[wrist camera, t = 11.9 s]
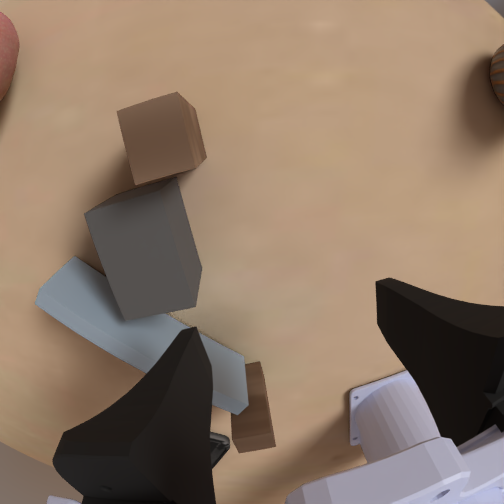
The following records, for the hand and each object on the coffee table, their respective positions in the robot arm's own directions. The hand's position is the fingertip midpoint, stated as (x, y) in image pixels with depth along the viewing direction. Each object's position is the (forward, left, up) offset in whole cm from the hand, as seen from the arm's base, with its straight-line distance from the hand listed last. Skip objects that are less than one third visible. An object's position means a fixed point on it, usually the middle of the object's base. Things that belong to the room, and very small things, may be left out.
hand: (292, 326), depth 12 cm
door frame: (0, +3, -9) cm, 9 cm away
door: (-3, +9, -8) cm, 13 cm away
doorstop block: (+3, +6, -9) cm, 11 cm away
